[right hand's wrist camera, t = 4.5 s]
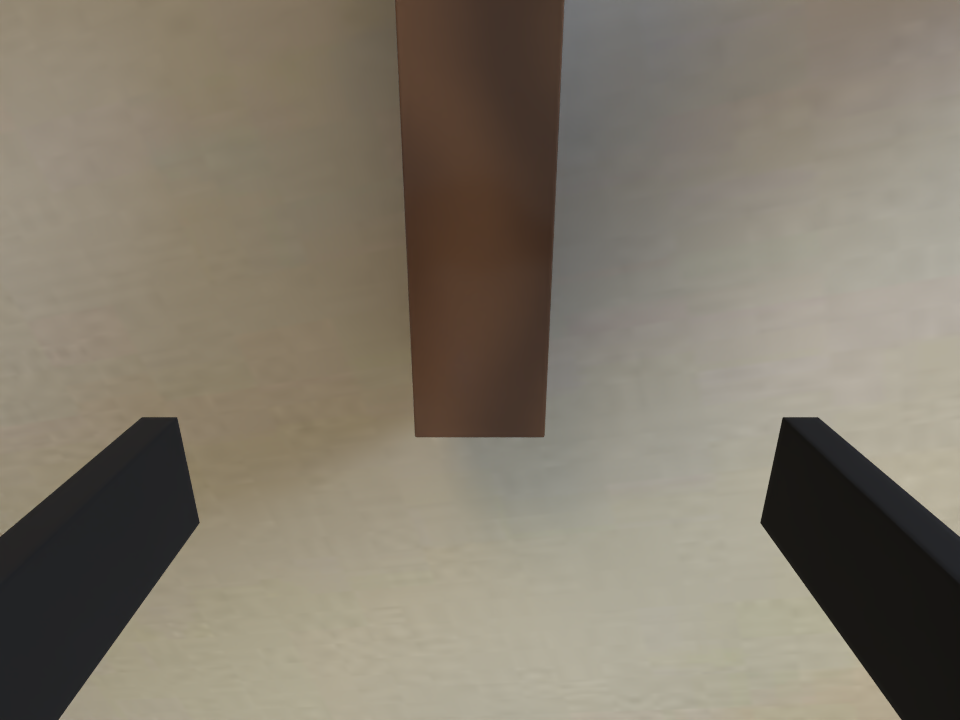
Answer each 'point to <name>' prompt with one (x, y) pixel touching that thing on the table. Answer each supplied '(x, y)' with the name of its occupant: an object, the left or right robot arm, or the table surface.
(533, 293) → the walnut beam
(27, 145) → the table surface
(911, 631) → the right robot arm
